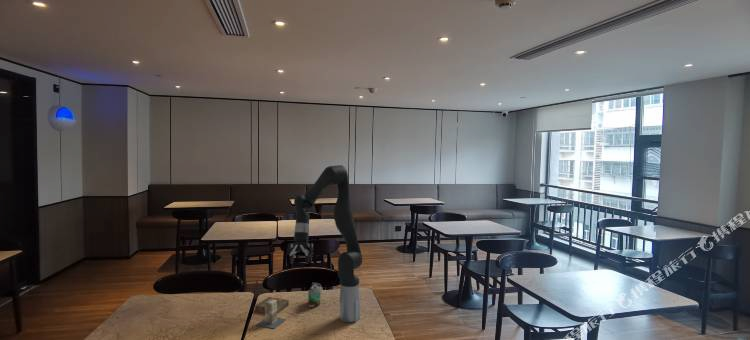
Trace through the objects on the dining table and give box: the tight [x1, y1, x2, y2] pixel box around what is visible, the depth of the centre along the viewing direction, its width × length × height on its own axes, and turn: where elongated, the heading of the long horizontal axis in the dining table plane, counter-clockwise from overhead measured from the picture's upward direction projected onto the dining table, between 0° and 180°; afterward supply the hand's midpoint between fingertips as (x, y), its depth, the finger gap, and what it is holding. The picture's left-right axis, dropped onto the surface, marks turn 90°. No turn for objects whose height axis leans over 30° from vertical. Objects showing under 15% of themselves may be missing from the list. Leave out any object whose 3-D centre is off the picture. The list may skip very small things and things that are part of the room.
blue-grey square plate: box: [255, 317, 287, 330], centre depth 180 cm, size 10×10×1 cm
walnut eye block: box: [254, 296, 289, 314], centre depth 196 cm, size 12×12×3 cm
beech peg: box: [264, 299, 278, 324], centre depth 180 cm, size 4×4×10 cm
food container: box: [307, 282, 323, 309], centre depth 201 cm, size 12×6×10 cm, turn 179°
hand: (299, 263), depth 198 cm, fingers open, 8 cm apart
